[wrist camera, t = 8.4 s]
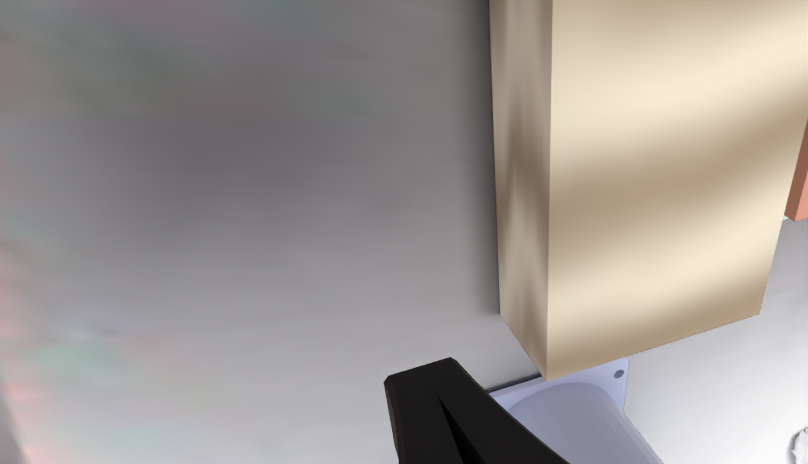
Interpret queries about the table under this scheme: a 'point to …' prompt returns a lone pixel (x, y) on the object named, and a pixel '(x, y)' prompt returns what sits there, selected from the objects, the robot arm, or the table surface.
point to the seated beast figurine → (801, 447)
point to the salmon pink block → (799, 184)
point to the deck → (640, 167)
